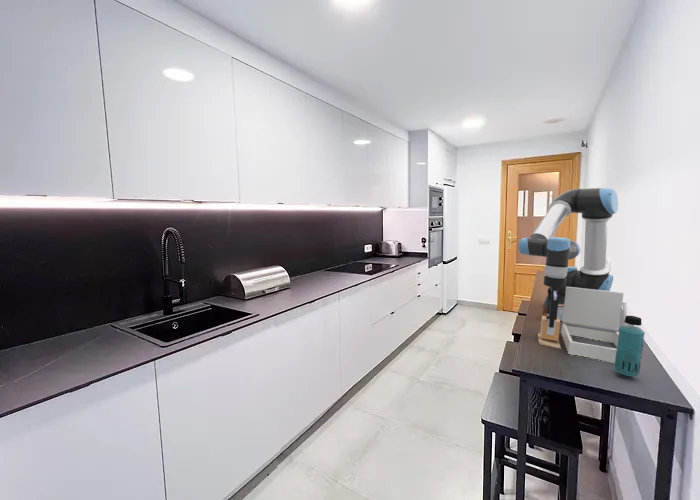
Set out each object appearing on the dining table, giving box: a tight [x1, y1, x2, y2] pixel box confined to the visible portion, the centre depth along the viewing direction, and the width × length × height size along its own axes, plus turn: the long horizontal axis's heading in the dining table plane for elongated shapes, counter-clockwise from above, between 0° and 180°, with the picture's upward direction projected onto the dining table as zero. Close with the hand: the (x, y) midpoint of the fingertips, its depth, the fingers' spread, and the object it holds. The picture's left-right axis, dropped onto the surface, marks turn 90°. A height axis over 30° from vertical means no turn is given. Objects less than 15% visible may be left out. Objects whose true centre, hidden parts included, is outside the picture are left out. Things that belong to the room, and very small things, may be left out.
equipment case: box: [560, 287, 629, 364], centre depth 126 cm, size 23×21×21 cm
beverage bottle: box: [614, 315, 645, 377], centre depth 105 cm, size 6×7×20 cm
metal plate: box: [537, 332, 562, 350], centre depth 134 cm, size 14×7×1 cm, turn 153°
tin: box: [542, 304, 564, 321], centre depth 157 cm, size 15×3×8 cm, turn 97°
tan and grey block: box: [539, 315, 561, 341], centre depth 133 cm, size 5×6×8 cm
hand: (549, 331), depth 134 cm, fingers closed on tan and grey block, 5 cm apart
